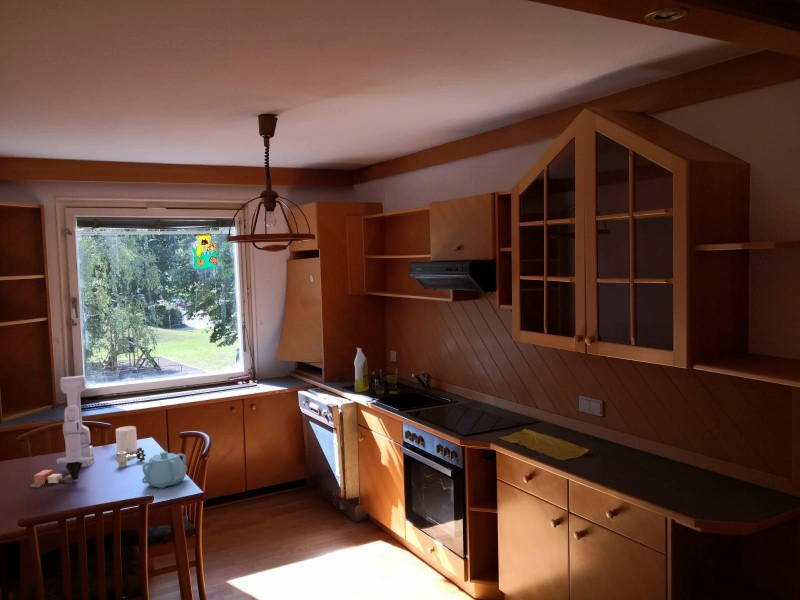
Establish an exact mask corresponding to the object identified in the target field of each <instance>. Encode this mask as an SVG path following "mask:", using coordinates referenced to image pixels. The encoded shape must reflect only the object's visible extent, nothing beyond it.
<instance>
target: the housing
mask: <svg viewBox="0 0 800 600" xmlns="http://www.w3.org/2000/svg"><path fill="white" fill-rule="evenodd" d="M52 474H54V469H43V470H42V471H39V472H37V473H36V474H34V476H33V477H34V483H32V484H31V485H30V488H41V487H43V486H44V484H45V485H46V481H48V476H50V475H52ZM42 485H43V486H42Z"/></svg>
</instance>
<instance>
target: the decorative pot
mask: <svg viewBox="0 0 800 600" xmlns="http://www.w3.org/2000/svg"><path fill="white" fill-rule="evenodd" d="M180 457H182V459H181V458H180ZM186 461H187V457H186V455H185V454H184V453H177V454H176V453H173V452H170V453H169V452H168V451H161V452H160V453H159V454H154V455H152V457H150V458H149V460H148V461H147V462H144V463H143V465H142V472H143V473H142V474H143V475H144V477H142V480H141V482H142V484H147V485H149V486H152V487H154V488H159V489H160V488H162V489H165V488H166V487H167V486H172V485H179V484H180V483H181V482H182V481H184V479H185V477H186V474H187V473H186V472H187V471H188V467H187V466H186Z"/></svg>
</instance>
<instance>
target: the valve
mask: <svg viewBox="0 0 800 600" xmlns="http://www.w3.org/2000/svg"><path fill="white" fill-rule="evenodd" d="M144 452H145V450H144V449H143V448H142V447H139V448H137V450H136V451H135V453H134V454H133V453H132V454H131V455H130V454H126V452H119V453H117V458H116V460H117V461H116V462H117V463H118V468H119V467H123V468H126V467H127V462H130V461H131V460H133V459H136V458H137V460H139V462H143V461H145V460H146V459H145V458H146V453H144ZM125 466H126V467H125Z"/></svg>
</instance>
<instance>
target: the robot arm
mask: <svg viewBox="0 0 800 600" xmlns="http://www.w3.org/2000/svg"><path fill="white" fill-rule="evenodd" d="M85 378H86V377H85V376H84V375H83V374H82V375H77V376H76V375H74V376H65V377H61V378H60V381H59V382H60V384H59V385H60V389H61V390H60V391H62V393H63V394H66V403H67V406H66V407H65V408H64V419H63V420H64V423H63V424H62V433H63V438H64V441H65V442H64V443H65V455H66V456H65V457H58V458H57V459H56V464H58V465H59V464H65V468H66V469H67V470H68V472H69V475H71V477H72V479H73V480H75V481H76V480H78V479H79V475H80V474H79V473H80V472H81V469H82V468H83V467H91V466H92V465H93V464H94V463H95V461H96V460H95V452H94V451H95V450H94V446H93V445H90V444H91V432H90V428H89V427H88V426H86V425H84V424H83V416H82V414H83V413H82V404H81V401H82V400H81V393H82V392H84V391H85V390H86V379H85Z"/></svg>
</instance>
